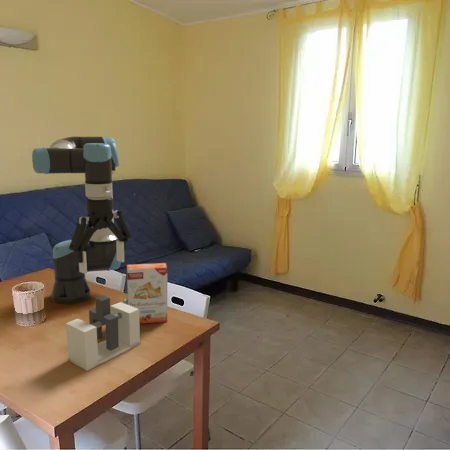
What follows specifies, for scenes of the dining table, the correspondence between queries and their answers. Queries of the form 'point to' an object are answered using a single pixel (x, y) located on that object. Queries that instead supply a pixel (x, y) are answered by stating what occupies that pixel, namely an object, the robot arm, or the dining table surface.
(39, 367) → the dining table surface
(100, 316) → the grey zigzag block
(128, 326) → the cream rod holder
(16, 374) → the dining table surface
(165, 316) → the cracker box
